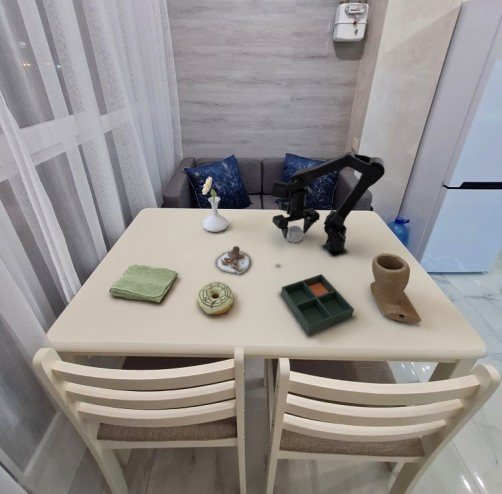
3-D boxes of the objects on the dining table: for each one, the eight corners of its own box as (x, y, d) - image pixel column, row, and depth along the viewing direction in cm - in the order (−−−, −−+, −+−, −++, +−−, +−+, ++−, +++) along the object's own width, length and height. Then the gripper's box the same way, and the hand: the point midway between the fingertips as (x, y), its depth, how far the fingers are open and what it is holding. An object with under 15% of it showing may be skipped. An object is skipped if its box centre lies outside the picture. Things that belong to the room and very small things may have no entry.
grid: (320, 281, 87) (321, 274, 86) (351, 317, 75) (354, 309, 73) (281, 295, 82) (281, 286, 80) (308, 335, 69) (309, 327, 68)
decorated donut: (207, 323, 72) (206, 314, 71) (192, 298, 80) (191, 288, 79) (239, 306, 78) (239, 297, 76) (222, 283, 86) (221, 275, 84)
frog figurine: (222, 249, 102) (222, 241, 100) (252, 254, 99) (252, 246, 98) (212, 270, 91) (211, 261, 90) (246, 275, 89) (246, 266, 88)
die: (302, 241, 107) (303, 231, 105) (291, 243, 106) (292, 233, 104) (297, 234, 111) (298, 224, 109) (286, 236, 110) (286, 226, 108)
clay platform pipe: (359, 283, 87) (368, 246, 80) (396, 285, 86) (409, 248, 80) (376, 323, 73) (388, 283, 67) (420, 326, 72) (437, 285, 66)
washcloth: (161, 305, 78) (159, 298, 76) (107, 297, 80) (105, 289, 79) (180, 274, 89) (179, 267, 88) (132, 267, 92) (130, 260, 91)
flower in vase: (207, 219, 122) (203, 168, 111) (231, 221, 120) (229, 170, 110) (198, 235, 110) (193, 180, 99) (224, 237, 109) (222, 182, 98)
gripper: (306, 190, 111) (303, 221, 118) (267, 197, 105) (265, 230, 111) (322, 201, 102) (317, 234, 109) (280, 210, 95) (278, 245, 102)
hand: (294, 235), depth 108 cm, fingers open, 9 cm apart
